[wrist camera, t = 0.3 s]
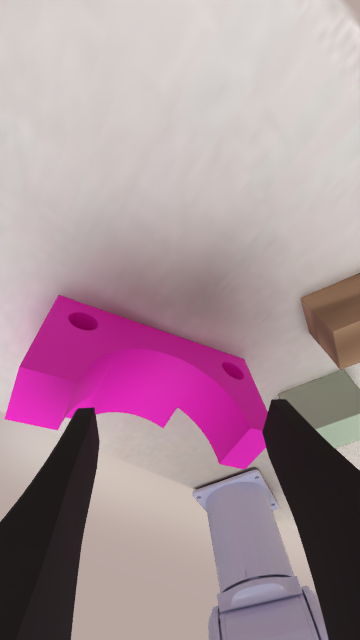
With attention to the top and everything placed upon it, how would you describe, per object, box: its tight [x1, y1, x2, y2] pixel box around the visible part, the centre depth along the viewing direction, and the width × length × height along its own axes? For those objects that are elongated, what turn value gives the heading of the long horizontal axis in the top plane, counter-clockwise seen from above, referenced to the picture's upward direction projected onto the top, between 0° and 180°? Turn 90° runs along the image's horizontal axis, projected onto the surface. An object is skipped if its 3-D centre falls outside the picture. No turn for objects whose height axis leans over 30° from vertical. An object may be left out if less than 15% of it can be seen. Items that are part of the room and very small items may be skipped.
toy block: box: [5, 295, 268, 469], centre depth 20 cm, size 15×6×8 cm, turn 64°
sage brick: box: [279, 369, 360, 448], centre depth 26 cm, size 4×6×4 cm, turn 114°
